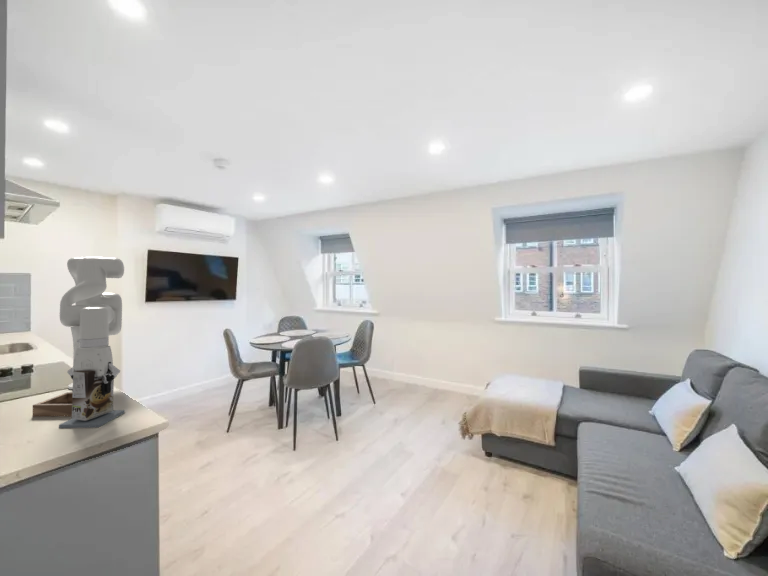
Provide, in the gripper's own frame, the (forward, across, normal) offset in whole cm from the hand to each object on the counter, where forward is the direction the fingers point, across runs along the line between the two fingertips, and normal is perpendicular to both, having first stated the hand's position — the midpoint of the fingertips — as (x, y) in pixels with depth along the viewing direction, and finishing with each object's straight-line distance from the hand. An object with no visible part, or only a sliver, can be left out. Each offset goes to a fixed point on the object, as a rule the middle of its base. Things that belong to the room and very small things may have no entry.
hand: (93, 393), depth 112 cm
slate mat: (+9, 0, 0) cm, 9 cm away
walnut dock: (+9, -16, +10) cm, 21 cm away
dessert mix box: (+8, 0, 0) cm, 8 cm away
